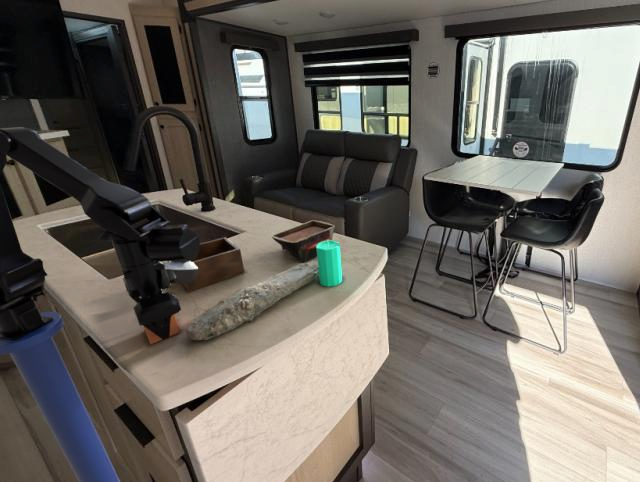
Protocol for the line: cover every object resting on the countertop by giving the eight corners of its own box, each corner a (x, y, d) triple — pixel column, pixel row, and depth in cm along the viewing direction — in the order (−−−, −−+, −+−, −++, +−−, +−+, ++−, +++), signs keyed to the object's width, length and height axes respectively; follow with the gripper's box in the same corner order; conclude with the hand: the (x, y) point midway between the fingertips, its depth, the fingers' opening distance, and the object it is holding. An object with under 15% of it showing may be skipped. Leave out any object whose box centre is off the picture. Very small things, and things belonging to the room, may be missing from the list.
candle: (331, 289, 81) (327, 246, 77) (314, 282, 84) (310, 240, 80) (347, 278, 86) (344, 237, 81) (330, 272, 88) (327, 233, 84)
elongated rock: (333, 277, 88) (307, 270, 93) (331, 260, 87) (305, 253, 92) (205, 351, 59) (178, 335, 64) (199, 327, 58) (172, 312, 63)
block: (150, 344, 62) (143, 323, 60) (145, 332, 65) (138, 312, 64) (180, 332, 65) (174, 312, 64) (174, 321, 69) (168, 301, 67)
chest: (229, 259, 96) (225, 236, 94) (244, 272, 89) (240, 248, 86) (177, 275, 87) (170, 251, 85) (188, 291, 79) (181, 266, 77)
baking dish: (273, 257, 101) (265, 231, 96) (318, 233, 113) (313, 208, 108) (299, 275, 93) (292, 247, 88) (345, 247, 105) (341, 221, 100)
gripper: (202, 262, 59) (219, 330, 64) (177, 234, 71) (193, 294, 77) (125, 285, 51) (151, 360, 57) (112, 249, 64) (135, 314, 69)
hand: (161, 327), depth 65 cm, fingers open, 9 cm apart
